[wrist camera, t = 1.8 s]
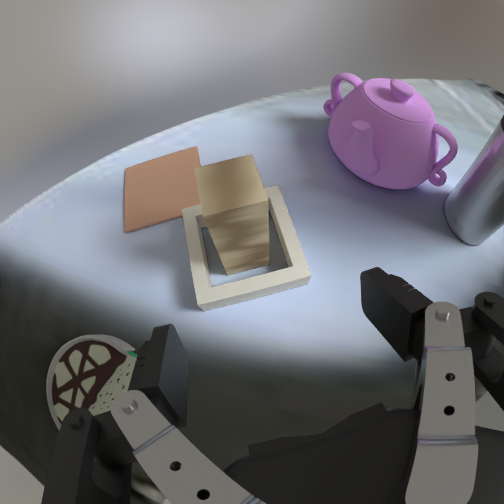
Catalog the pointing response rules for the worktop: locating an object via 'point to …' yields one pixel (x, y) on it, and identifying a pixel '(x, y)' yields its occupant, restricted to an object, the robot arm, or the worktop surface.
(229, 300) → the collar frame
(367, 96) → the teapot
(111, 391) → the cream brown half-disc piece
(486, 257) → the worktop surface
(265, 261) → the beech block
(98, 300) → the worktop surface
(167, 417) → the robot arm
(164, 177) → the mat
